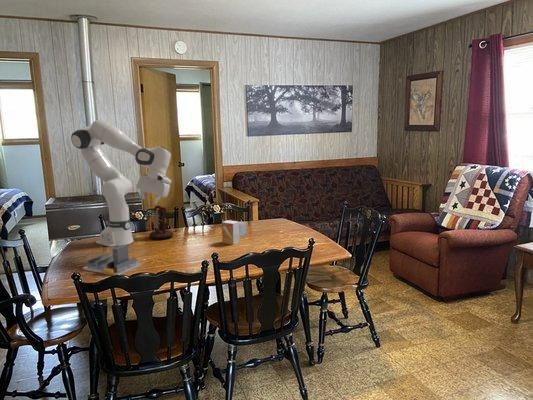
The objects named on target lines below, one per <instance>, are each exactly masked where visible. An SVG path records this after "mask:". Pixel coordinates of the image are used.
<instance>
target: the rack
mask: <svg viewBox="0 0 533 400" xmlns="http://www.w3.org/2000/svg"><path fill="white" fill-rule="evenodd" d="M86 264H87V265H85V266H84V267H83V266H82V270H83V271H86V272H94V273H97V274H98V273H99V274H104V275H107V276H112V275H113V276H115V275H119V276H121V275H123V274H125V273H127V272H130V271H131V270H134V269H136V268H138V267H141V266H142V263H141V262H139V261H137V257H136V256H134V257H131V258H129V259H128V260H126V261H124V262H121V263H119V264H117V265H115V268H116V269H114V263H113V255H110V254H109V252H106V253H104V254H103V253H102V254H100V255H98V256H96V257H92V258H90V259H87V260H86Z"/></svg>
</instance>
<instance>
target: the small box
mask: <svg viewBox="0 0 533 400" xmlns="http://www.w3.org/2000/svg"><path fill="white" fill-rule="evenodd" d="M239 222H240V221H237V220H229V219H227V220H224V221H222V222H221V228H222V229H221V230H222V231H221V232H222V233H221V235H222V236H221V241H222V244H227V245H230V246H231V245H232V246H234V245H236V244H238V243H240V237H239Z"/></svg>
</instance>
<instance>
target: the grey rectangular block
mask: <svg viewBox="0 0 533 400" xmlns="http://www.w3.org/2000/svg"><path fill="white" fill-rule="evenodd" d="M128 245H129V244H127V245H120V246H114V247H112V249H111V250H112V256H113V263H114V269H116V268H115V265H117V264H119V263H121V262H124V261H126V260H128V259H130V258H129V246H128Z"/></svg>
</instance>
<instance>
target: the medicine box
mask: <svg viewBox="0 0 533 400" xmlns="http://www.w3.org/2000/svg"><path fill="white" fill-rule="evenodd" d="M238 222H239V238H241V237H244V236H247V222H246V221H243V220H242V221H241V220H240V221H238Z"/></svg>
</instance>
